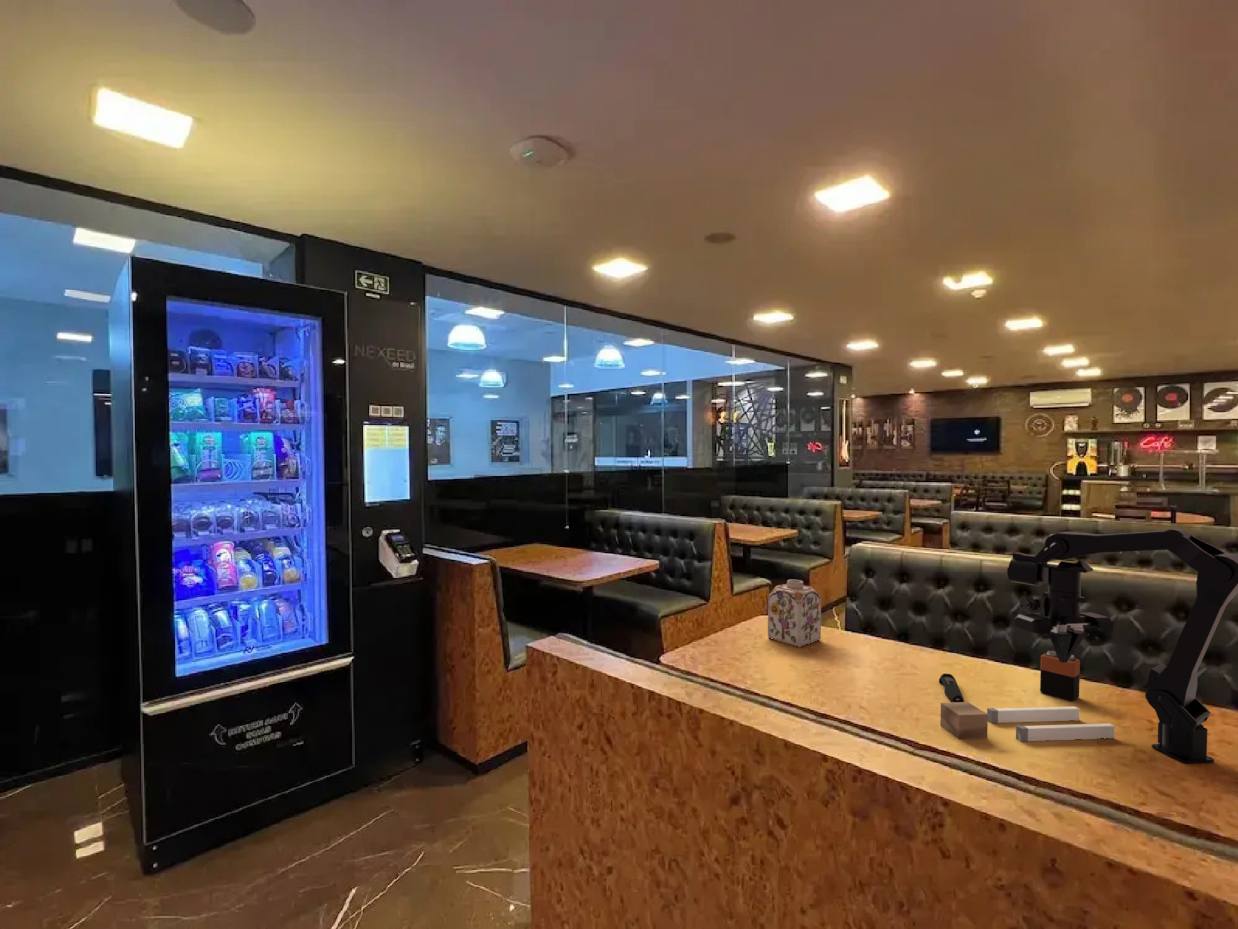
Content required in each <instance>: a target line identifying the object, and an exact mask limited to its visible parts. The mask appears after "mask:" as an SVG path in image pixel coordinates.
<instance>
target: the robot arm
mask: <svg viewBox="0 0 1238 929" xmlns="http://www.w3.org/2000/svg"><path fill="white" fill-rule="evenodd" d="M1143 551H1147V552H1148V551H1168V552H1171V553H1172V554H1173V555H1175V556H1176V557H1177V558H1179V559H1180V561H1182V562H1184V563H1185V564H1186V565H1187V566H1189V567H1190V568H1192V569H1193V570H1195V571H1196V572H1197V573H1196V574H1197V575H1196V582H1195V593H1196V595H1195V596H1196V597H1195V601H1194V602H1193V605H1192V608H1191V609H1190V612H1189V614H1188V617H1187V619H1186V621H1185V623H1184V626H1183V628H1182V631H1181V633H1180V635H1179V638H1178V640H1177V642H1176V644H1175V646H1174V649H1173V652H1172V653H1171V656H1170V658H1169V661H1168V662H1167V664H1166V665H1164V664H1162V663H1161V664H1158V665H1156V666H1155V667H1153V668H1150V671H1149V674H1148V679H1147V681H1146V683H1145V684H1143V686H1142V688H1143V689H1146V690H1145V693H1144V696H1145V699H1146V702H1148V704H1149V705H1150V707H1151V708H1152V709H1153V710H1155V711H1154V712H1155V713H1156V716H1157V719H1158V722H1157V743H1152V744H1151V748H1152V749H1153V748H1154V749H1155V750H1157V751H1159V752H1161V753H1162V754H1164V755H1167V756H1168V757H1170V758H1173V759H1175V760H1177V761H1178V762H1180V763H1184V764H1188V763H1189V764H1191V763H1192V764H1193V763H1195V764H1196V763H1214V762H1215V758H1213V757H1211V756H1209V755H1208V753H1207V752H1208V728H1206V727H1205V726H1204V725H1203V723H1205V722H1207V721H1208V719H1209V718H1210V716H1211V713H1212V712H1210V710H1209V709H1208V708H1207V707H1206V706H1205V705H1204V704H1203V703H1202V702H1201V701H1200V700H1199V699H1198V698H1197V697H1196V694H1197V691H1198V670H1199V668H1200V666H1201V664H1202V661H1203V658H1204V657H1205V655H1206V652H1207V650H1208V647H1209V645H1210V643H1211V641H1212V638H1213V636H1214V634H1215V632H1216V629H1217V627H1218V625H1219V623H1220V620H1221V618H1222V616H1223V614H1224V613H1225V609H1226V608H1227V605H1228V604H1229V603H1230V602H1231V600H1233V599H1234V597H1236V595H1237V594H1238V554H1236V553H1230V552H1229V553H1227V552H1225V551H1223V550H1221V549H1220V548H1218V547H1216V546H1214V545H1212V544H1210V543H1208V542H1206V541H1204V540H1202V539H1201V538H1200V539H1199V538H1198V537H1196V536H1195V535H1193V534H1191V533H1189V531H1187V530H1185V529H1182V528H1172V529H1171V528H1170V529H1165V530H1152V531H1137V532H1120V533H1109V534H1108V533H1105V534H1101V533H1097V534H1096V533H1092V532H1091V533H1089V532H1082V531H1081V532H1080V531H1062V532H1055V533H1051V534H1049V535H1048V537H1046V539H1045V542H1044V547H1042V549H1041V550H1039V551H1038V553H1037V554H1036V555H1033V554H1026V553H1023V552H1013V553H1012V557H1011V559H1010V561H1009V564H1008V567H1007V569H1006V571H1007V572H1006V575H1007V578H1008V580H1009V581H1010V582H1011V583H1018V584H1024V585H1030V586H1035V587H1036V586H1037V587H1041V586H1043V585H1044V584H1045V583H1047V591H1044V592H1042V595H1041V598H1037V599H1034V596H1032V595H1022V596H1020V598H1019V607H1020V610H1021V611H1023V612H1027V613H1019V614H1017V615H1016V616H1015V619H1014V621H1015V622H1014V623H1015V624H1014V627H1016V628H1019V629H1021V630H1025V631H1028V632H1030V633H1033V634H1046V635H1047V636H1048V637H1049V640H1050V641H1051V643H1052V646H1053V648H1054V652H1056V654H1057V657H1058V659H1059V661H1060V662H1062V663H1067V661H1068V660H1069V658H1070V657H1071V655H1073V654H1074V652H1075V651H1076V649H1077V648H1078V646H1079V645H1080V644H1081V643H1082V642H1083V640H1084V639H1085V638H1086V637H1089V636H1090V633H1089V632H1086V631H1084V630H1085V629H1084V627H1096V629H1097V630H1098V631H1099V632H1101V633H1102V632H1103V633H1105V632H1107V633H1108V632H1114V622H1113V621H1112V620H1111V618H1110V617H1109V616H1106V615H1103V614H1102V615H1101V614H1098V613H1095V612H1093V611H1092V612H1090V611H1089V612H1081V603H1086V597H1085V596H1081V593H1082V592H1081V589H1082V588H1081V587H1082V585H1081V584H1082V573H1084V574H1087V573H1091V572H1093V571H1094V568H1093V567H1092V566H1090V565H1089V564H1088V563H1087V562H1086V561H1085V560H1084V559H1081V560H1078V561H1077V562H1072V561H1071V562H1070V561H1065V560H1069V559H1075V558H1081V557H1084V556H1090V555H1094V554H1101V553H1124V552H1143ZM1057 561H1059V563H1058V564H1053V563H1049V562H1057Z"/></svg>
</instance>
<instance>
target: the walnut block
mask: <svg viewBox="0 0 1238 929" xmlns="http://www.w3.org/2000/svg"><path fill="white" fill-rule="evenodd" d="M939 721H940V722H939V724H940V725H939V726H940V727H941V728H942V729H943V730H945V731H946V732H948V733H949V734H950V735H952V736H954V737H955V738H956V739H957V740H982V739H985V740H986V739H988V724H989V723H988V722H989V721H988V714H987V712H985V711H983V710H981V709H980V708H978V707H977V706H975V705H974V704H972V703H971V702H968V701H964V702H952V701H951V702H940V720H939Z"/></svg>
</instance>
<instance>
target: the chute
mask: <svg viewBox="0 0 1238 929" xmlns="http://www.w3.org/2000/svg"><path fill="white" fill-rule="evenodd" d="M986 713H987V714H988V722H989V723H991V724H999V723H1000V724H1001V723H1003V724H1004V723H1006V724H1007V723H1029V722H1030V723H1034V722H1063V721H1065V722H1066V721H1067V722H1070V721H1069V720H1075V721H1080V708H1079V707H1077V706H1047V707H1046V706H1042V707H1041V706H1039V707H1037V706H1036V707H1008V708H1003V707H1002V708H994V707H986ZM1097 738H1098V739H1097ZM1100 738H1104V739H1103V740H1105V739H1106V738H1110V739H1111V738H1113V739H1115V725H1114V724H1112V723H1109V722H1108V723H1085V724H1083V723H1081V724H1080V723H1078V724H1077V723H1076V724H1048V725H1047V724H1046V725H1045V724H1044V725H1043V724H1042V725H1020V724H1019V725H1015V739H1016V740H1018V741H1019V742H1021V743H1024V742H1026V743H1027V742H1041V741H1042V742H1043V741H1044V742H1046V741H1047V740H1049V741H1073V740H1074V741H1076V740H1075V739H1082V740H1101V739H1100ZM1110 739H1109V740H1110ZM1111 740H1112V739H1111ZM1049 741H1048V742H1049Z"/></svg>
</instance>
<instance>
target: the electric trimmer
mask: <svg viewBox="0 0 1238 929" xmlns="http://www.w3.org/2000/svg"><path fill="white" fill-rule="evenodd" d="M938 683H939V684H942V685H943V687H944V691H943V692H944V694H945V696H946V697H947V698H948V699H949V700H950V701H951V702H965V700H964V697H963V694H962V692H961V689H960V687H959V686H958V685H959V684H958V682H957V680H956V678H955V677H954V676H953V674H950V673H942V674H941V675H940V677H939V679H938Z"/></svg>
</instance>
